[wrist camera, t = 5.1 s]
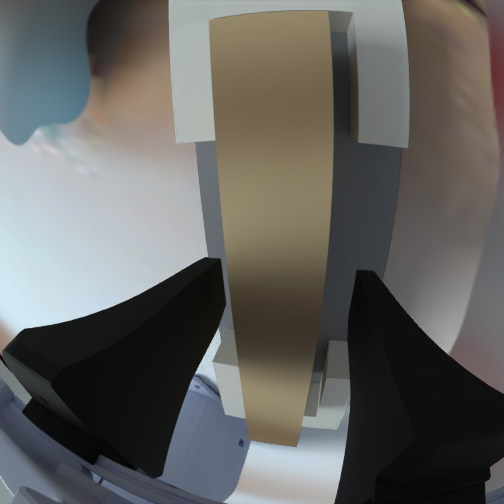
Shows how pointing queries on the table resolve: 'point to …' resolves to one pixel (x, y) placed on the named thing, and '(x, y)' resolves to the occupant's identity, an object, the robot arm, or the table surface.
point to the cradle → (344, 167)
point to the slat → (274, 202)
